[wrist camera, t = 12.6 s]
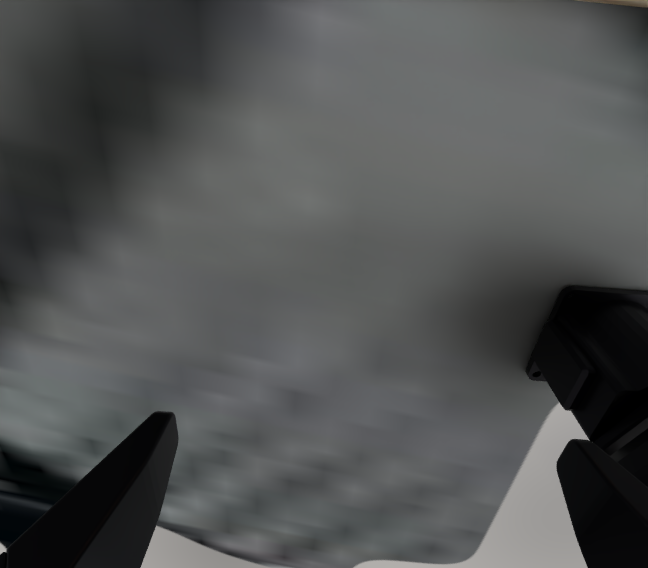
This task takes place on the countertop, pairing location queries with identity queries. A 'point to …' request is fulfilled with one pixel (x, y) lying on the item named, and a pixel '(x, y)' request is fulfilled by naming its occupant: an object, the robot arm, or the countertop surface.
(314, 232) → the countertop surface
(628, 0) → the birch block
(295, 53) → the countertop surface
